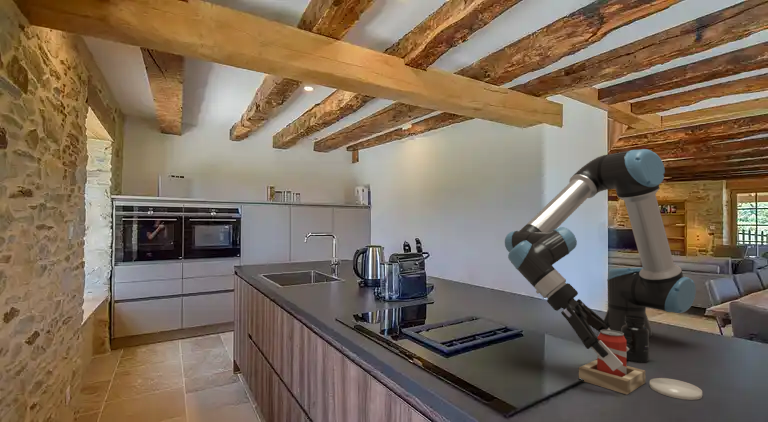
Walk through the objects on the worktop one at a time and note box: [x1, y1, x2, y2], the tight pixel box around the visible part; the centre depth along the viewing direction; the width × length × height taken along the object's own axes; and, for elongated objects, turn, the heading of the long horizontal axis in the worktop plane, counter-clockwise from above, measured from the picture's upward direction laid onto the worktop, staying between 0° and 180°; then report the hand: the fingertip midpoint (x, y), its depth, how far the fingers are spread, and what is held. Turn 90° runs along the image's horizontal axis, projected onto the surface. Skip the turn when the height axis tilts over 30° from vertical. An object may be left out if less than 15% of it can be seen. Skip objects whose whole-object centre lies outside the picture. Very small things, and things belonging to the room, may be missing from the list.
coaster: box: [649, 377, 703, 401], centre depth 95 cm, size 10×10×1 cm
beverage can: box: [596, 330, 628, 377], centre depth 100 cm, size 6×6×12 cm
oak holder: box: [578, 359, 646, 395], centre depth 100 cm, size 11×11×3 cm
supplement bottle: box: [621, 315, 650, 363], centre depth 117 cm, size 7×7×12 cm
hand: (621, 359), depth 99 cm, fingers open, 13 cm apart
